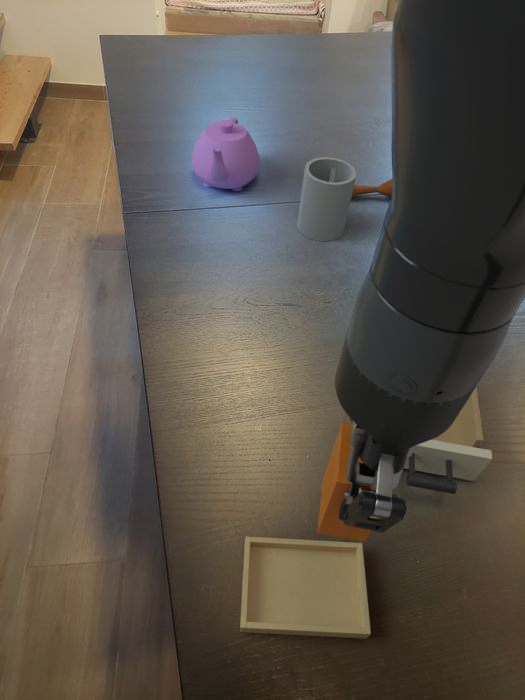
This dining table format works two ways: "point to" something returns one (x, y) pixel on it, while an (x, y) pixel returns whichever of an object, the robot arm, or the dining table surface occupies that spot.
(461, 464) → the drawer
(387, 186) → the kendama
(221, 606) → the dining table surface
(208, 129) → the teapot
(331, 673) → the dining table surface
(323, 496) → the block
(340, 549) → the tray
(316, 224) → the cup
